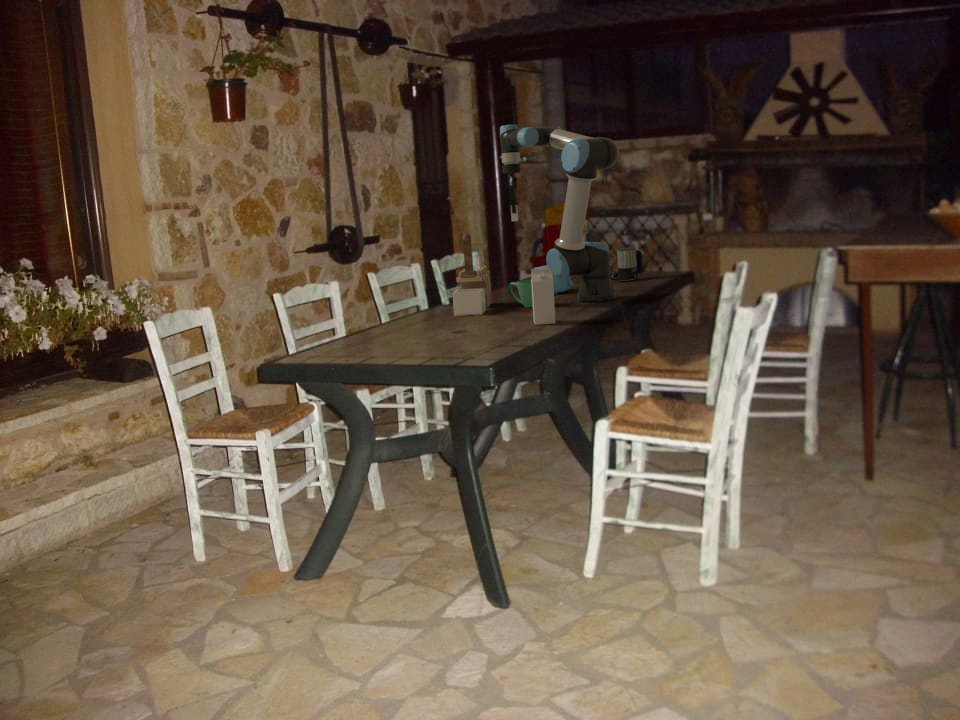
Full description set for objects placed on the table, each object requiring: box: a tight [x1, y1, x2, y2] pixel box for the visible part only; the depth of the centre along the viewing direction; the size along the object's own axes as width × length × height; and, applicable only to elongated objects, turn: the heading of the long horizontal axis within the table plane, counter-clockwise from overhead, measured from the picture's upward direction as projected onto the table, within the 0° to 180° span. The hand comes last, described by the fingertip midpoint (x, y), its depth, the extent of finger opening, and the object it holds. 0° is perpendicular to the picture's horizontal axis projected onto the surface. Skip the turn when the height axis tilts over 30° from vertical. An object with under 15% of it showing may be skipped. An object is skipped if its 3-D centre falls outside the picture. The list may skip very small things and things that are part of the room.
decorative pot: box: [533, 265, 574, 295], centre depth 412 cm, size 16×16×14 cm
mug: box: [507, 279, 533, 308], centre depth 378 cm, size 15×10×10 cm
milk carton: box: [530, 268, 556, 326], centre depth 332 cm, size 7×7×19 cm
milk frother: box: [610, 246, 643, 280], centre depth 439 cm, size 14×16×15 cm
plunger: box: [462, 233, 477, 278], centre depth 370 cm, size 4×5×17 cm
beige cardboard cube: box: [451, 288, 487, 317], centre depth 369 cm, size 11×11×9 cm
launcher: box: [455, 265, 493, 309], centre depth 382 cm, size 22×10×16 cm, turn 172°
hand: (514, 221), depth 398 cm, fingers closed
